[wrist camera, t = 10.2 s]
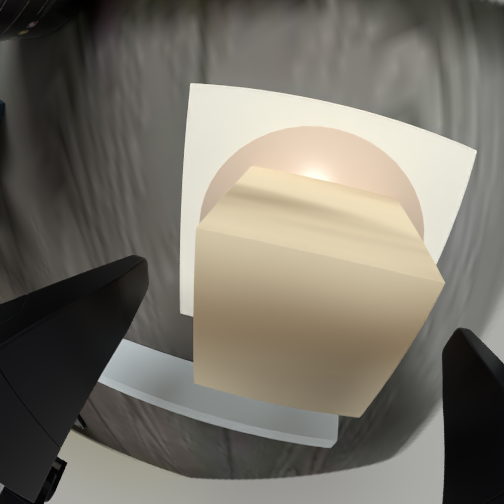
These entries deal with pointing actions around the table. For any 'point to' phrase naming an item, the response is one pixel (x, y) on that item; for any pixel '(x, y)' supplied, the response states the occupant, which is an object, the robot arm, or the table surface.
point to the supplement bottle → (34, 17)
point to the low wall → (211, 398)
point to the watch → (1, 109)
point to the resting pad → (314, 159)
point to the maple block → (307, 292)
